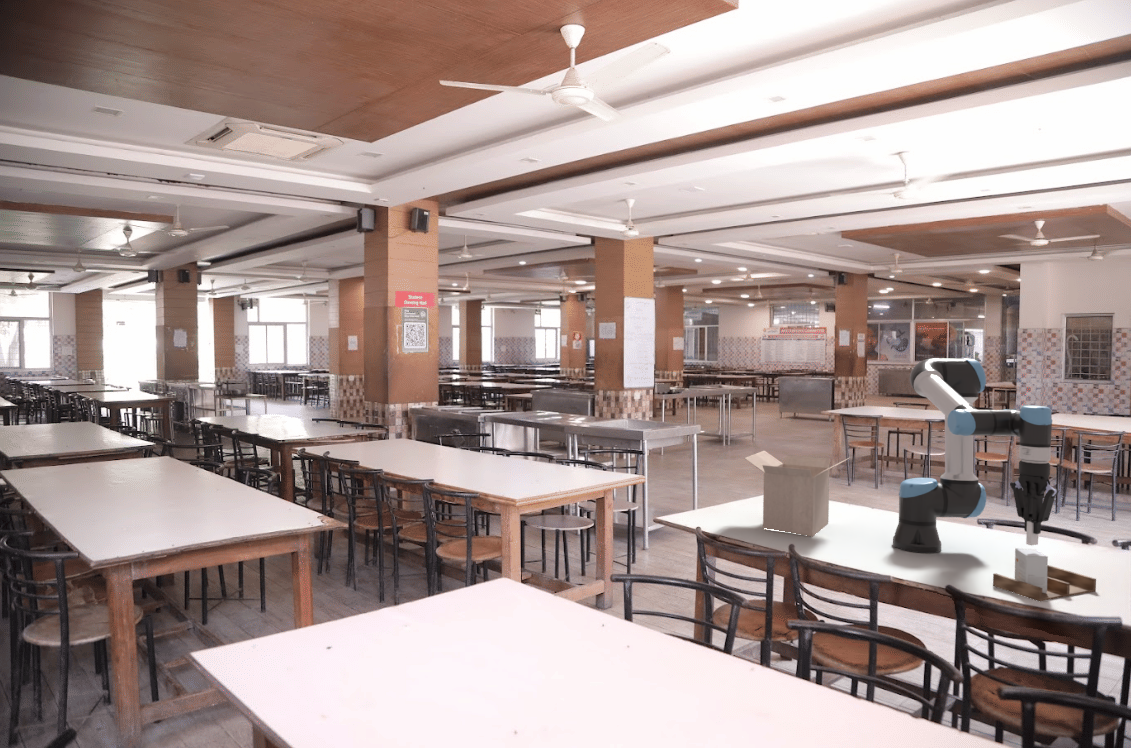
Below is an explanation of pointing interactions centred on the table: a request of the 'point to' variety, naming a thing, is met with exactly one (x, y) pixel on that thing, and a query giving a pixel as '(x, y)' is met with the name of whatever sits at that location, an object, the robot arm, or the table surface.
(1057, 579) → the rack
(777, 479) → the box
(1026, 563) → the small box
